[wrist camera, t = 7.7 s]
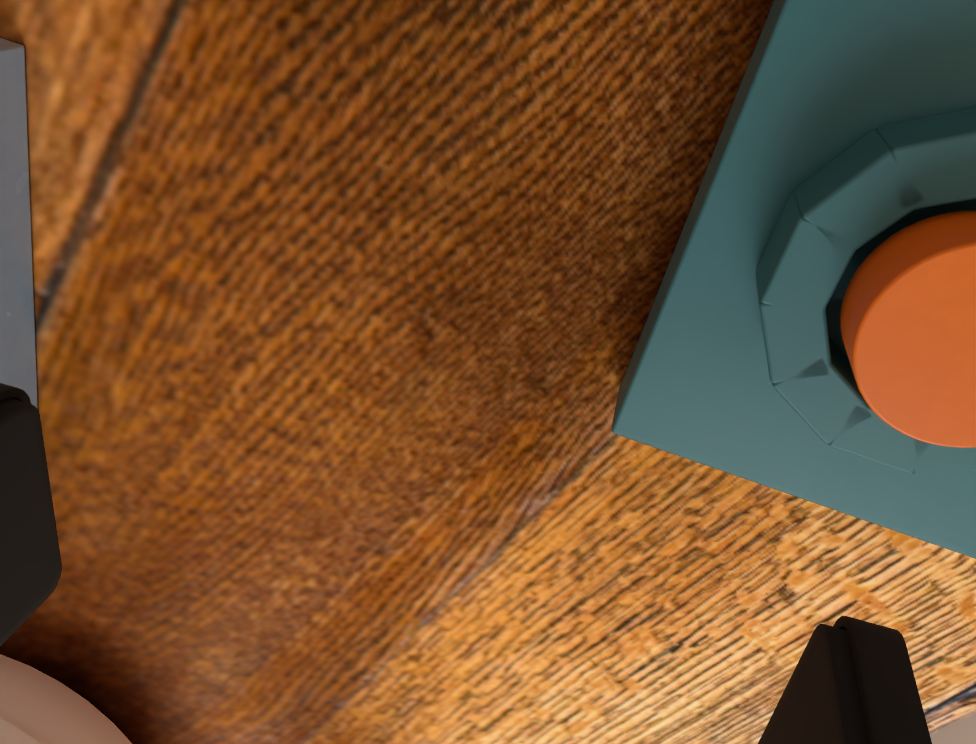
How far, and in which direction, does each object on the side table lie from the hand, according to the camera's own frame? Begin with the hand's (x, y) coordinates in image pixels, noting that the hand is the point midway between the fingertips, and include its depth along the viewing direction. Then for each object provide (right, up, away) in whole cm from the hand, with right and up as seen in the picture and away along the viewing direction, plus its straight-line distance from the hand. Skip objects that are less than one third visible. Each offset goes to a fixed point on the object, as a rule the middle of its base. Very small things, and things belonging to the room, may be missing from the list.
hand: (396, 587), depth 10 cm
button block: (+11, +5, +9) cm, 15 cm away
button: (+10, +4, +6) cm, 12 cm away
